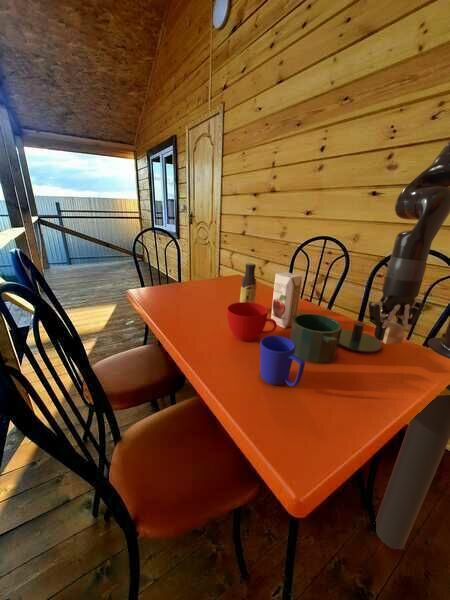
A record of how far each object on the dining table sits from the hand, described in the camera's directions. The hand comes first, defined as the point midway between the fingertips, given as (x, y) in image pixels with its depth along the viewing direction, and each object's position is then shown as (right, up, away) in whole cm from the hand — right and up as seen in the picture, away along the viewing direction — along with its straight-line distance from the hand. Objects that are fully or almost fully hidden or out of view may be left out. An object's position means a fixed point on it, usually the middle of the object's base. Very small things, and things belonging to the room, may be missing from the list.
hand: (387, 338), depth 67 cm
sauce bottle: (-34, +6, +40) cm, 53 cm away
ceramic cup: (-35, -3, +16) cm, 38 cm away
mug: (-30, -10, -5) cm, 32 cm away
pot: (-17, -5, +10) cm, 20 cm away
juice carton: (-21, +1, +29) cm, 36 cm away
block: (0, 0, 0) cm, 0 cm away
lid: (0, -3, +16) cm, 16 cm away
